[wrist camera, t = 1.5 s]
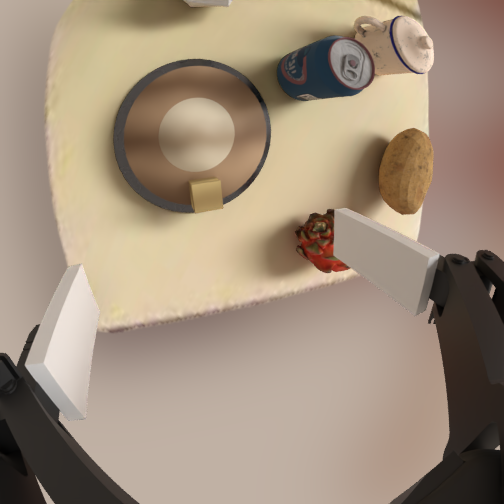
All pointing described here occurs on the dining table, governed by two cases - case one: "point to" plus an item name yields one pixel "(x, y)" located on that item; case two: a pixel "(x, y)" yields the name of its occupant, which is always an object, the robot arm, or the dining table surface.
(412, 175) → the potato
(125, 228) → the dining table surface
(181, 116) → the turntable
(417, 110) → the dining table surface
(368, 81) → the soda can
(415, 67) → the teacup with lid
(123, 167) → the turntable base
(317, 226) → the dragon fruit
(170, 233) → the dining table surface
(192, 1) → the die
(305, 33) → the dining table surface
